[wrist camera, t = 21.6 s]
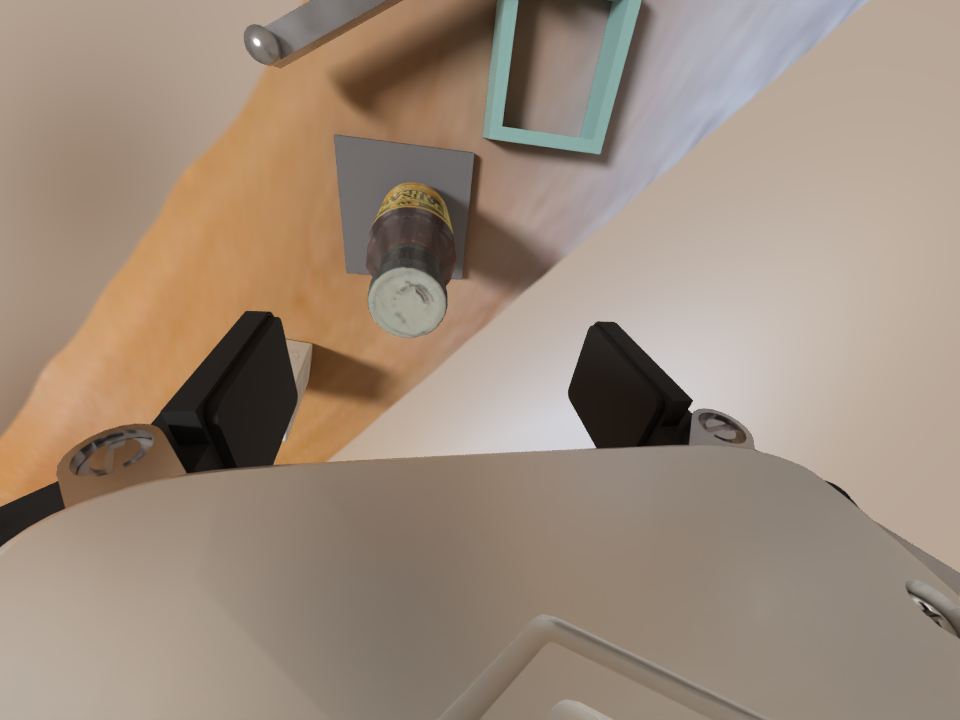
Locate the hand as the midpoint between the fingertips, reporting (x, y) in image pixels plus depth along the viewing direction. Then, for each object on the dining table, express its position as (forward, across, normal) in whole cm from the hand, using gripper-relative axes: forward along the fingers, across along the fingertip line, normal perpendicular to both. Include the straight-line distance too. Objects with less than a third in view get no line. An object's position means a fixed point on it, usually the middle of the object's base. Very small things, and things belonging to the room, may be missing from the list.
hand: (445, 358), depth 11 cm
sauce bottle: (+27, +1, +2) cm, 27 cm away
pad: (+28, +2, +2) cm, 28 cm away
